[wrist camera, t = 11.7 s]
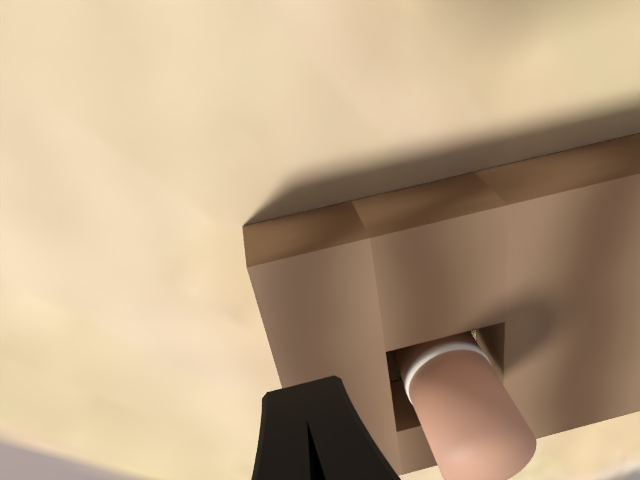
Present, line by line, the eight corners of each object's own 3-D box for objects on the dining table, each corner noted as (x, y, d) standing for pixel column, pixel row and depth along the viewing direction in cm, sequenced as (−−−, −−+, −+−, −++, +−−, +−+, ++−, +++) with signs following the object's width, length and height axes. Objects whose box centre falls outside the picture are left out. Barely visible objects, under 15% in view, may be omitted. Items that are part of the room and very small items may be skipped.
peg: (457, 291, 21) (534, 408, 16) (468, 348, 23) (541, 469, 18) (378, 319, 21) (430, 444, 16) (396, 374, 23) (448, 502, 18)
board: (683, 123, 19) (742, 148, 17) (634, 362, 26) (672, 402, 23) (242, 226, 18) (246, 267, 16) (305, 447, 25) (314, 497, 23)
